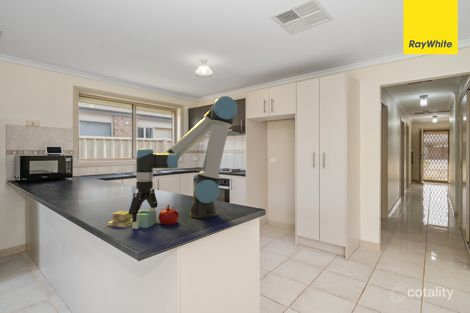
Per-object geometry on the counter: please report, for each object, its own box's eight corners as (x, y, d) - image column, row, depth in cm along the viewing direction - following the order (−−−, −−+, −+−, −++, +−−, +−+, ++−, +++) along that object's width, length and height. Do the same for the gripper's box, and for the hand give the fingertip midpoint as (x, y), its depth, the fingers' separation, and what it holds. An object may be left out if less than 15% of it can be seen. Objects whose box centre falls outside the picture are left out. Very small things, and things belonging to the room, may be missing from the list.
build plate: (138, 221, 124) (139, 210, 124) (125, 227, 114) (125, 215, 114) (121, 219, 127) (121, 209, 126) (107, 225, 117) (107, 214, 117)
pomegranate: (162, 228, 116) (162, 208, 115) (155, 222, 124) (155, 204, 123) (182, 224, 121) (182, 205, 121) (174, 219, 129) (174, 201, 129)
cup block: (156, 223, 123) (156, 210, 122) (147, 228, 115) (147, 215, 115) (141, 222, 124) (141, 209, 124) (132, 226, 116) (132, 213, 116)
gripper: (152, 177, 132) (151, 216, 132) (120, 183, 108) (119, 231, 108) (164, 178, 130) (164, 218, 131) (135, 184, 106) (134, 233, 106)
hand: (144, 224), depth 119 cm, fingers open, 13 cm apart
